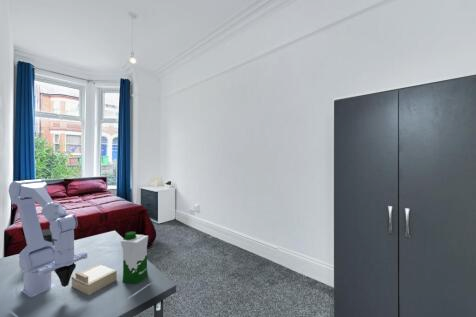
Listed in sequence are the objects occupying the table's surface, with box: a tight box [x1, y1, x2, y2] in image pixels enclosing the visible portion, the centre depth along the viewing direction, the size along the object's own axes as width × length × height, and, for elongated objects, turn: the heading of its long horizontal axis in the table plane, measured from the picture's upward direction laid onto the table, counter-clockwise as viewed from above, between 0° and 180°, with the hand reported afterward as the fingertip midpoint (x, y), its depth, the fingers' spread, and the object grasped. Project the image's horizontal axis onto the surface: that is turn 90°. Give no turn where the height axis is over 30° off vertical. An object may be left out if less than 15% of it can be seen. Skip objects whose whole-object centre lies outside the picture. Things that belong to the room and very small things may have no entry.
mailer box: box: [71, 263, 118, 296], centre depth 89 cm, size 12×11×5 cm
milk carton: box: [120, 231, 149, 285], centre depth 92 cm, size 9×9×20 cm
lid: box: [73, 264, 116, 285], centre depth 89 cm, size 10×11×3 cm
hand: (65, 285), depth 79 cm, fingers closed
